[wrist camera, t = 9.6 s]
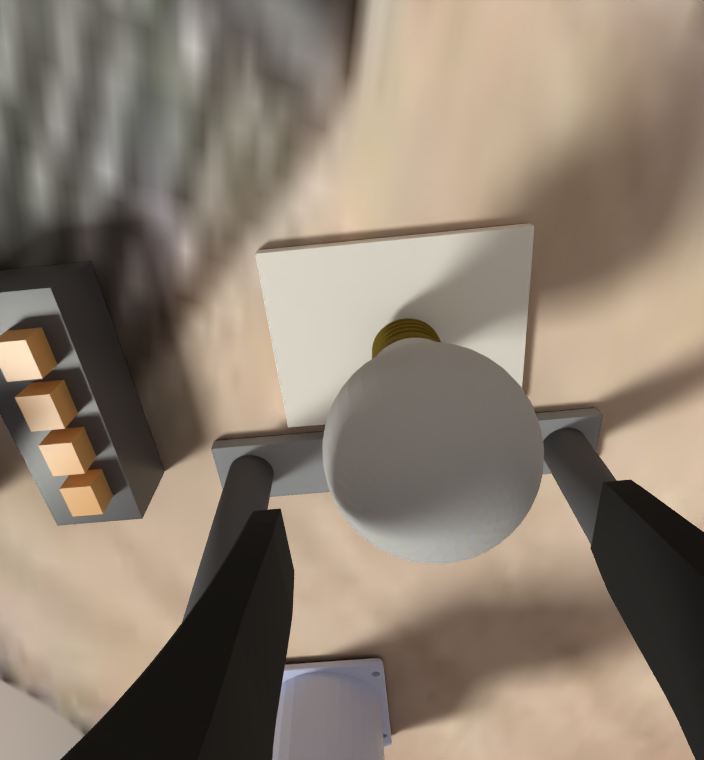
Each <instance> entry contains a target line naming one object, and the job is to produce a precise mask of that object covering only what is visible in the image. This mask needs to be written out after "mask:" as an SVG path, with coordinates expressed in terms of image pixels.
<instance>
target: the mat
mask: <svg viewBox="0 0 704 760" xmlns="http://www.w3.org/2000/svg"><path fill="white" fill-rule="evenodd" d="M534 228H535V226H534V225H532V224H531V223H526V224H516V225H506V226H496V227H486V228H476V229H466V230H456V231H446V232H436V233H425V234H415V235H405V236H395V237H385V238H375V239H365V240H355V241H345V242H335V243H325V244H315V245H305V246H295V247H284V248H274V249H264V250H257V251H256V253H255V256H256V261H257V266H258V272H259V277H260V282H261V287H262V293H263V298H264V303H265V309H266V314H267V319H268V325H269V330H270V335H271V341H272V346H273V351H274V356H275V362H276V367H277V372H278V378H279V383H280V388H281V394H282V399H283V404H284V409H285V415H286V420H287V425H288V428H290V427H301V426H313V425H324V424H326V420H327V417H328V415H329V412H330V409H331V406H332V404H333V402H334V400H335V398H336V397H337V395H338V393H339V392H340V390H341V388H342V387H343V386H344V384H345V383H346V382H347V381H348V380H349V378H350V377H351V376H352V375H353V374H354V373H355V372H356V371H357V370H358V369H359V368H361V367H362V366H363V365H364V364H365V363H367V362H368V361H370V360H371V359H372V346H373V342H374V339H375V337H376V336H377V334H378V333H379V332H380V330H381V329H382V328H383V327H385V326H386V325H387V324H389V323H391V322H393V321H396V320H399V319H405V318H412V319H417V320H421V321H423V322H425V323H427V324H428V325H430V326H431V327H432V328H433V329H434V330H435V332H436V333H437V335H438V337H439V339H440V341H441V342H442V343H449V344H455V345H459V346H462V347H465V348H469V349H472V350H474V351H476V352H478V353H480V354H482V355H484V356H486V357H488V358H490V359H491V360H492V361H494V362H495V363H497V364H498V365H499V366H501V367H502V368H503V369H505V370H506V371H507V372H508V373H509V374H510V375H511V376H512V377H513V379H514V380H515V381H516V382H517V383H518V384H519V385H520V386H521V388H522V382H523V369H524V356H525V344H526V331H527V318H528V305H529V292H530V279H531V266H532V254H533V241H534Z"/></svg>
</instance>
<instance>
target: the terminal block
mask: <svg viewBox="0 0 704 760" xmlns="http://www.w3.org/2000/svg"><path fill="white" fill-rule="evenodd" d="M0 414H1V416H2V418H3V420H4V422H5V424H6V426H7V428H8V430H9V432H10V434H11V436H12V438H13V439H14V441H15V443H16V445H17V447H18V449H19V451H20V453H21V455H22V457H23V459H24V461H25V463H26V465H27V467H28V469H29V471H30V473H31V475H32V477H33V479H34V481H35V482H36V484H37V486H38V488H39V490H40V492H41V494H42V496H43V498H44V500H45V502H46V504H47V506H48V508H49V510H50V512H51V514H52V516H53V518H54V520H55V522H56V523H57V525H70V524H82V523H94V522H106V521H118V520H130V519H142V518H143V516H144V514H145V512H146V510H147V508H148V505H149V503H150V501H151V499H152V497H153V495H154V493H155V491H156V489H157V487H158V484H159V482H160V480H161V478H162V476H163V474H164V469H163V466H162V464H161V461H160V458H159V455H158V452H157V449H156V446H155V443H154V441H153V438H152V435H151V432H150V429H149V426H148V423H147V421H146V418H145V415H144V412H143V409H142V406H141V403H140V400H139V398H138V395H137V392H136V389H135V386H134V383H133V380H132V378H131V375H130V372H129V369H128V366H127V363H126V360H125V357H124V355H123V352H122V349H121V346H120V343H119V340H118V337H117V334H116V332H115V329H114V326H113V323H112V320H111V317H110V314H109V312H108V309H107V306H106V303H105V300H104V297H103V294H102V291H101V289H100V286H99V283H98V280H97V277H96V274H95V271H94V269H93V266H92V263H91V261H88V262H78V263H68V264H58V265H48V266H38V267H28V268H18V269H8V270H0Z"/></svg>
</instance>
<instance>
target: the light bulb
mask: <svg viewBox="0 0 704 760" xmlns="http://www.w3.org/2000/svg"><path fill="white" fill-rule="evenodd" d="M322 449H323V466H324V471H325V475H326V480H327V484H328V487H329V490H330V492H331V494H332V496H333V499H334V501H335V503H336V505H337V507H338V508H339V510H340V511H341V513H342V514H343V516H344V517H345V518H346V520H347V521H348V523H349V524H350V525H351V526H352V527H353V528H354V529H355V530H356V531H357V532H358V533H359V534H360V535H361V536H362V537H363V538H365V539H366V540H367V541H369V542H370V543H372V544H373V545H374V546H376V547H377V548H379V549H381V550H383V551H385V552H387V553H389V554H391V555H393V556H396V557H399V558H402V559H404V560H409V561H413V562H418V563H427V564H445V563H454V562H458V561H463V560H467V559H470V558H473V557H475V556H478V555H480V554H482V553H484V552H486V551H488V550H490V549H491V548H493V547H495V546H496V545H498V544H499V543H501V542H502V541H503V540H504V539H506V538H507V537H508V536H509V535H510V534H511V533H512V532H513V531H514V530H515V529H516V528H517V527H518V526H519V525H520V523H521V522H522V521H523V519H524V518H525V516H526V515H527V513H528V512H529V510H530V508H531V506H532V504H533V502H534V500H535V498H536V495H537V493H538V490H539V487H540V482H541V478H542V474H543V464H544V444H543V438H542V432H541V427H540V424H539V421H538V418H537V416H536V413H535V411H534V408H533V406H532V404H531V402H530V400H529V399H528V397H527V396H526V394H525V392H524V391H523V389H522V388H521V386H520V385H519V384H518V383H517V382H516V381H515V380H514V379H513V377H512V376H511V375H510V374H509V373H508V372H507V371H506V370H505V369H503V368H502V367H501V366H499V365H498V364H497V363H495V362H494V361H492V360H491V359H490V358H488V357H486V356H484V355H482V354H480V353H478V352H476V351H474V350H472V349H469V348H465V347H462V346H459V345H455V344H449V343H442V342H441V341H440V339H439V337H438V335H437V333H436V332H435V330H434V329H433V328H432V327H431V326H430V325H428V324H427V323H425V322H423V321H421V320H417V319H412V318H405V319H399V320H396V321H393V322H391V323H389V324H387V325H386V326H385V327H383V328H382V329H381V330H380V332H379V333H378V334H377V336H376V337H375V339H374V342H373V346H372V359H371V360H370V361H368V362H367V363H365V364H364V365H363V366H362V367H361V368H359V369H358V370H357V371H356V372H355V373H354V374H353V375H352V376H351V377H350V378H349V380H348V381H347V382H346V383H345V384H344V386H343V387H342V388H341V390H340V392H339V393H338V395H337V397H336V398H335V400H334V402H333V404H332V406H331V409H330V412H329V415H328V417H327V420H326V424H325V430H324V436H323V443H322Z"/></svg>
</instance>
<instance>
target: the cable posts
mask: <svg viewBox="0 0 704 760" xmlns="http://www.w3.org/2000/svg"><path fill="white" fill-rule="evenodd" d="M536 416H537V418H538V421H539V424H540V427H541V432H542V438H543V444H544V464H543V474H551V473H552V475H553V477H554V478H555V480H556V482H557V484H558V486H559V487H560V489H561V491H562V493H563V495H564V496H565V498H566V500H567V502H568V504H569V506H570V507H571V509H572V511H573V513H574V515H575V516H576V518H577V520H578V522H579V524H580V525H581V527H582V529H583V531H584V533H585V534H586V536H587V538H588V540H589V542H590V544H592V538H593V533H594V527H595V522H596V517H597V511H598V506H599V500H600V495H601V489H602V484H603V482H609V481H616V479H615V478H614V476H613V475H612V474H611V472H610V471H609V469H608V468H607V467H606V465H605V464H604V462H603V461H602V459H601V458H600V457H599V455H598V454H597V452H596V449H597V443H598V438H599V432H600V426H601V420H602V414H601V413H600V412H599V410H598V409H597V408H587V409H576V410H564V411H553V412H541V413H536ZM323 436H324V431H323V432H311V433H300V434H288V435H277V436H265V437H254V438H242V439H231V440H219V441H214V443H213V446H212V448H211V450H212V453H213V457H214V460H215V464H216V467H217V471H218V474H219V478H220V481H221V485H222V488H223V491H222V494H221V498H220V501H219V504H218V507H217V511H216V514H215V517H214V520H213V524H212V527H211V530H210V533H209V537H208V540H207V543H206V546H205V550H204V553H203V556H202V559H201V563H200V566H199V569H198V572H197V576H196V579H195V582H194V586H193V589H192V592H191V595H190V599H189V602H188V605H187V608H186V612H185V615H184V618H183V621H184V619H185V618H186V617H187V615H188V614H189V612H190V611H191V610H192V608H193V607H194V605H195V604H196V603H197V601H198V600H199V598H200V597H201V595H202V594H203V593H204V591H205V590H206V588H207V586H208V585H209V583H210V582H211V580H212V579H213V577H214V576H215V574H216V572H217V571H218V569H219V568H220V566H221V565H222V563H223V561H224V560H225V558H226V556H227V555H228V553H229V551H230V550H231V548H232V546H233V545H234V543H235V541H236V540H237V538H238V536H239V534H240V533H241V531H242V529H243V527H244V525H245V524H246V522H247V520H248V518H249V516H250V515H251V514H252V513H253V512H254V511H259V510H267V508H268V503H269V498H270V497H274V496H286V495H298V494H310V493H322V492H330V490H329V487H328V484H327V480H326V475H325V471H324V466H323V449H322V443H323ZM183 621H182V622H183Z"/></svg>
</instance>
